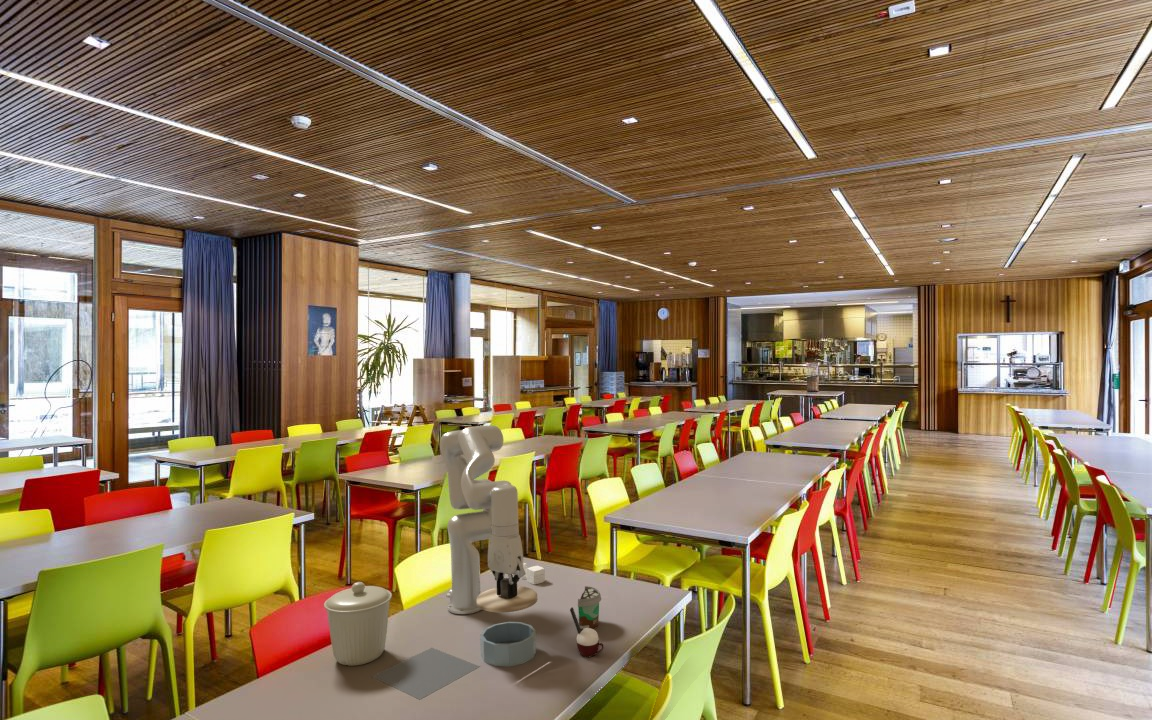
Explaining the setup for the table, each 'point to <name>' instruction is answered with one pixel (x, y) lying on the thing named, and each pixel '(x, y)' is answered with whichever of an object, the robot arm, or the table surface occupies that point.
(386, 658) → the table surface
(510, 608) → the lid
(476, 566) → the robot arm
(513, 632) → the bowl
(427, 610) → the table surface
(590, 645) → the cocoa
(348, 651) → the canister
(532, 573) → the container set
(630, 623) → the table surface
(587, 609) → the food container
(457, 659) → the mat
